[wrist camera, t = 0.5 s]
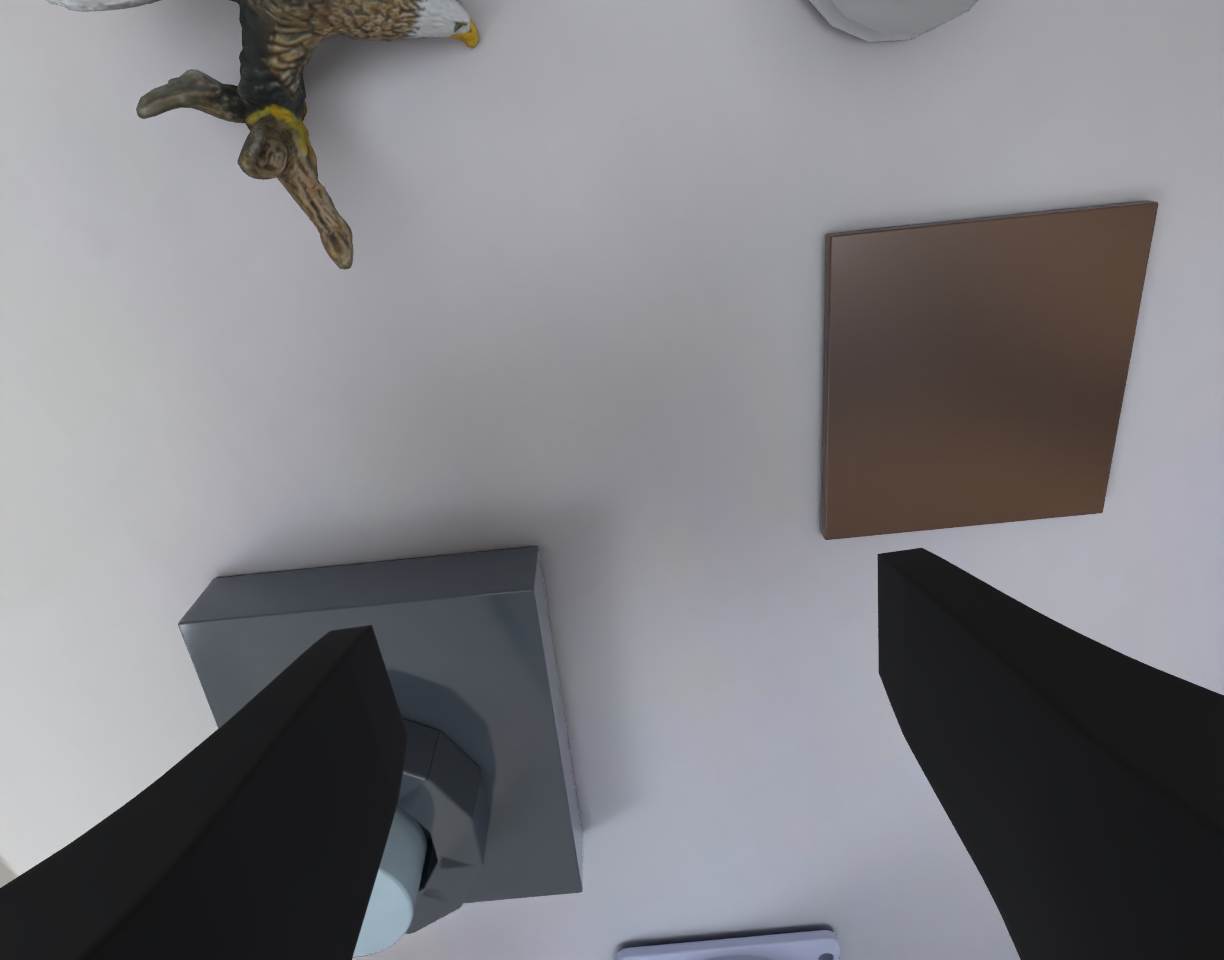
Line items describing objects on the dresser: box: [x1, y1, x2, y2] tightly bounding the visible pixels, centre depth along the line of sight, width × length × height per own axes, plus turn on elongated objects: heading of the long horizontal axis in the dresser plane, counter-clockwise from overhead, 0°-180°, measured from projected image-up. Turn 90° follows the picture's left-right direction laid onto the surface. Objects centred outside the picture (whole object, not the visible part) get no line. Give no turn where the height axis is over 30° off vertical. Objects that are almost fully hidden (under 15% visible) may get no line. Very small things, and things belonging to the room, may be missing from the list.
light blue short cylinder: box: [353, 806, 427, 957], centre depth 21 cm, size 4×4×2 cm
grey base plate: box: [178, 546, 583, 934], centre depth 22 cm, size 11×9×4 cm
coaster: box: [822, 201, 1158, 540], centre depth 20 cm, size 8×8×1 cm
